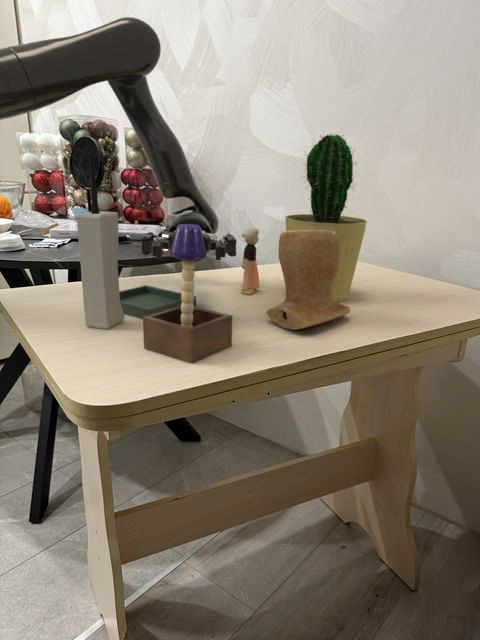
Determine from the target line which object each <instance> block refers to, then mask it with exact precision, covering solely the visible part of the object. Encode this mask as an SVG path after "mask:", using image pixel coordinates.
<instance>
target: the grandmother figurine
mask: <svg viewBox="0 0 480 640" xmlns="http://www.w3.org/2000/svg"><path fill="white" fill-rule="evenodd" d="M259 235H260V229H259V228H257V227H256V226H248V227H246V228H245V229H244V230H243V232H242V234H241V237H242V238H243V239H244V241H245V244H246V245H245V247H244V249H243V258H242V265H241V269H243V270H244V271H243V276H242V277H243V278H242V290H241V291H240V293H241V294H244V295H250V296H251V295H255V292H258V289H260V275H259V270H258V263H257V247H256V244H257V243H258V242H259Z"/></svg>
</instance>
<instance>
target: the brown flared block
mask: <svg viewBox="0 0 480 640" xmlns="http://www.w3.org/2000/svg"><path fill="white" fill-rule="evenodd" d="M277 253H278V261H279V264H280V268H281V272H282V276H283V281H284V286H285V299H284V300H283V301H282V302H281V303H280V304H278V305H277V306H274V307H271V308H269V309H267V310H266V315H267V316H268V317H269V318H270V319H271V320H272V321H273V322H274V323H275V324H277V325H278V326H280V328H282V329H283V328H284V329H286V330H290V331H291V330H293V331H294V330H295V331H296V330H301V329H305V328H310V327H313V326H316V325H320V324H324V323H327V322H329V321H332V320H335V319H339V318H340V317H343V316H345V315H347V314H350V312H351V309H352V308H350V307H349V306H347V305H344V304H342V303H339V302H335V301H333V299H332V296H331V290H332V285H333V281H334V278H335V275H336V272H337V268H338V262H339V241H338V237H337V234H336V233H335V232H334V231H327V230H293V231H286V230H285V231H282V232H281V233H280V234H279V239H278V251H277Z"/></svg>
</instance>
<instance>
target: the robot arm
mask: <svg viewBox="0 0 480 640" xmlns="http://www.w3.org/2000/svg"><path fill="white" fill-rule="evenodd" d="M161 51H162V47H161V41H160V38H159V36H158V34H157V32H156V31H155V29H154V28H153V27H152V26H151V25H150V24H148V23H147V22H146V21H144V20H141V19H140V18H136V17H131V16H125V17H120V18H118V19H114V20H112V21H110V22H108V23H105V24H103V25H100V26H98V27H95V28H91V29H89V30H86V31H84V32H81V33H77V34H74V35H68V36H63V37H56V38H49V39H42V40H38V41H37V40H36V41H32V42H27V43H21V44H16V45H10V46H7V47H2V48H0V121H2V120H5V119H12V118H15V117H18V116H22V115H24V114H29V113H32V112H35V111H38V110H40V109H44V108H46V107H48V106H50V105H53V104H55V103H58V102H60V101H62V100H64V99H66V98H69V97H71V96H73V95H74V94H76V93H78V92H79V91H81V90H83V89H86V88H88V87H90V86H93V85H96V84H99V83H103V82H107V83H108V85H109V86H110V88H111V90H112V92H113V94H114V95H115V97H116V99H117V100H118V102H119V104H120V106H121V108H122V110H123V111H124V113H125V115H126V117H127V119H128V120H129V123H130V125H131V127H132V129H133V131H134V133H135V135H136V136H137V139H138V141H139V144H140V145H141V148H142V151H143V152H144V155H145V156H146V160H147V162H148V165H149V168H150V169H151V172H152V175H153V177H154V179H155V181H156V184H157V187H158V190H159V192H160V194H161V196H162V197H163V198H164V199H177V198H186V199H188V200H190V201H191V202H192V203H193V204H190V205H187V206H184V207H182V208H180V209H175V210H173V211H171V212H169V213H168V214H167V215H166V216H165V220H164V226H165V227H164V228H165V232H164V233H162V234H161V236H160V237H159V236H157V234H156V233H154V232H152V231H148V232H146V233H145V234H143V235H142V236H141V237H140V240H141V243H140V244H141V255H144V256H148V255H151V256H152V257H155V259H156V260H162V257H164V256H165V257H171V258H172V256H171V254H170V252H171V247H172V244H173V240H174V236H175V232H176V229H177V226H178V225H180V224H194V225H198V226H200V228H201V231H202V235H203V240H204V244H205V249H206V257H205V258H215V261H222V258H226V255H227V256H228V257H231V258H232V257H237V238H236V237H235V235H233V234H231V233H227V234H225V235H223V236H222V238H218V237H217V235H216V234H217V233H218V231H219V226H220V221H219V220H220V219H219V217H218V214H217V213H216V212H215V210H214V208H213V206H212V205H211V204H210V203H209V201H208V200H207V198H206V197H205V195H204V194H203V193H202V191H201V189H200V188H199V186H198V184H197V182H196V180H195V178H194V175H193V172H192V170H191V167H190V164H189V162H188V159H187V156H186V154H185V151H184V149H183V147H182V145H181V142H180V141H179V139H178V138H177V136H176V134H175V133H174V131H173V129H171V127H170V125H169V124H168V123H167V121H166V120H165V118H164V117H163V115H162V114H161V112H160V111H159V108H158V107H157V105H156V102H155V100H154V97H153V96H152V92H151V90H150V86H149V82H148V79H147V77H148V76H149V75H150V74H151V73H152V72H153V71H154V70H155V68H156V67H157V65H158V63H159V60H160V58H161V53H162V52H161ZM179 260H180V261H182V259H179ZM202 260H203V259H199V260H195V263H196V262H200V261H202Z"/></svg>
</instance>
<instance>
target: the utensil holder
mask: <svg viewBox="0 0 480 640" xmlns="http://www.w3.org/2000/svg"><path fill="white" fill-rule="evenodd" d="M94 156H95V155H94V152H93V151H89V152H88V159H89V175H90V198H91V211H86V212H80V213H77V215H76V226H77V227H76V229H77V238H78V251H79V260H80V261H79V264H80V272H81V273H80V274H81V275H80V276H81V288H82V298H83V309H84V311H83V312H84V321H85V326H86V327H88V328H93V329H94V328H95V329H101V330H108V329H111V328H112V327H115V326H116V325H118V324H120V323H122V322H123V321H124V320H125V314H124V313H123V310H122V307H121V304H120V294H119V291H120V280H119V279H120V278H119V262H118V251H119V244H120V243H119V213H118V212H117V211H103V210H100V209H99V199H98V189H97V188H98V187H97V183H96V182H97V181H96V171H95V168H96V167H95V157H94Z"/></svg>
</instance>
